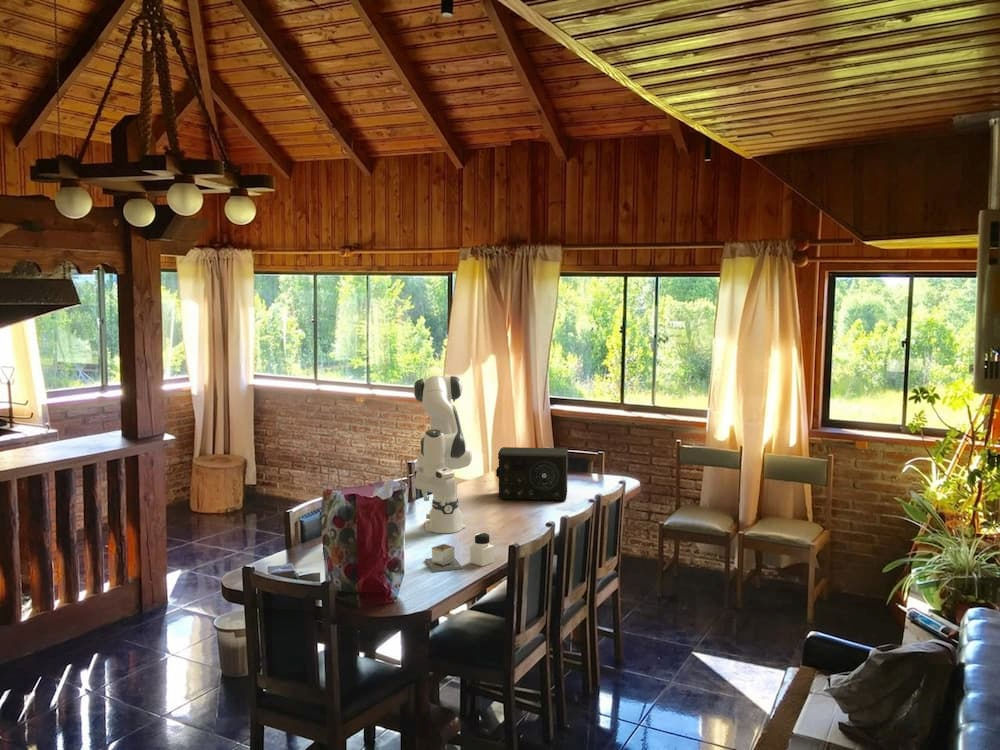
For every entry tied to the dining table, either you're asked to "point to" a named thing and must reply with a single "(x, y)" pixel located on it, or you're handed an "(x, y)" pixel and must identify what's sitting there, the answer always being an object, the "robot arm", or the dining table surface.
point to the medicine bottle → (482, 550)
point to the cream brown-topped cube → (443, 554)
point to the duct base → (438, 567)
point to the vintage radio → (532, 473)
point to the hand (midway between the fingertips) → (434, 503)
